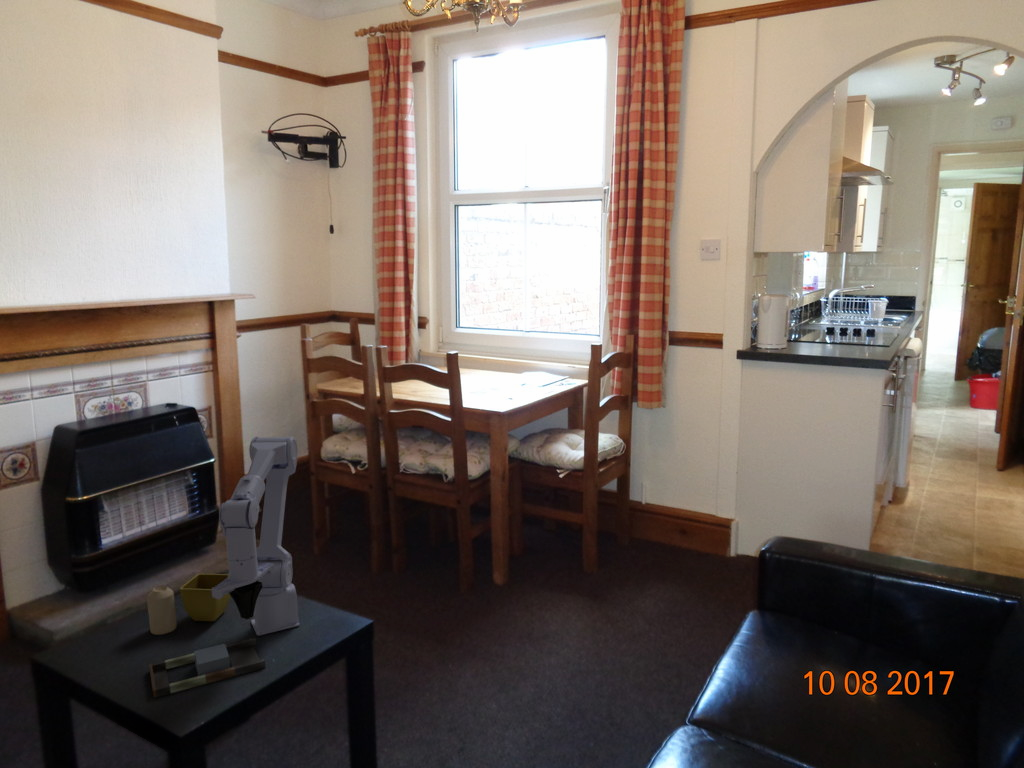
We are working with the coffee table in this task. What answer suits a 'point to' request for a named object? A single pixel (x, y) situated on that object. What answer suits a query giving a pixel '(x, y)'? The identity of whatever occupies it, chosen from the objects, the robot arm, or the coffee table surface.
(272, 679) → the coffee table surface
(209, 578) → the flower pot
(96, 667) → the coffee table surface
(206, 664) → the block
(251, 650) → the trap lane
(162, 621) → the candle
